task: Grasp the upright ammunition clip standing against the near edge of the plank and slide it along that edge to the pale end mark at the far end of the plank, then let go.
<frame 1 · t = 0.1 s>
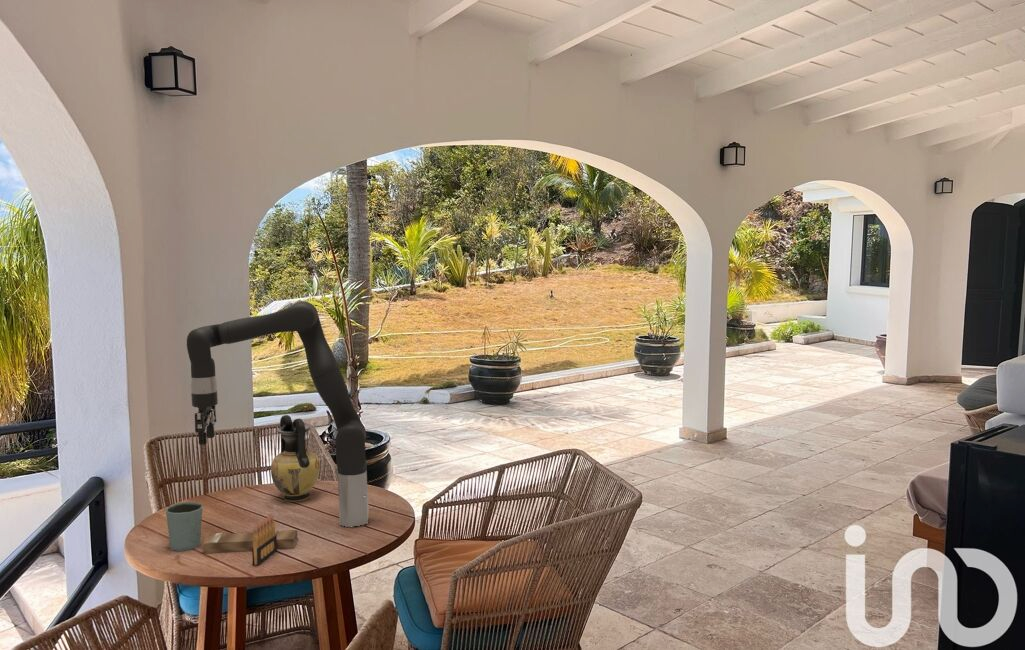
hand: (206, 441, 233), 29 cm above the table, tool pointing down, fingers open, 8 cm apart
amphora: (296, 498, 267), on the table
ammunition clip: (265, 558, 214), on the table
grey-green cup: (186, 546, 224), on the table
plank: (251, 546, 223), on the table
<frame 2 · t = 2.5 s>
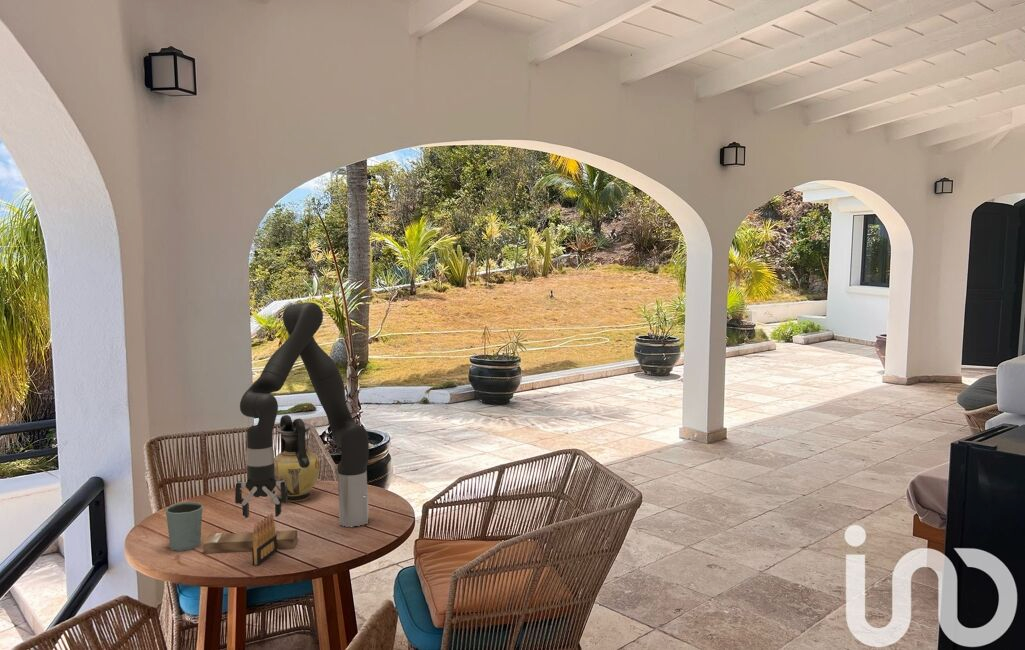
hand: (262, 516, 213), 12 cm above the table, tool pointing down, fingers open, 8 cm apart
nothing on the table moved.
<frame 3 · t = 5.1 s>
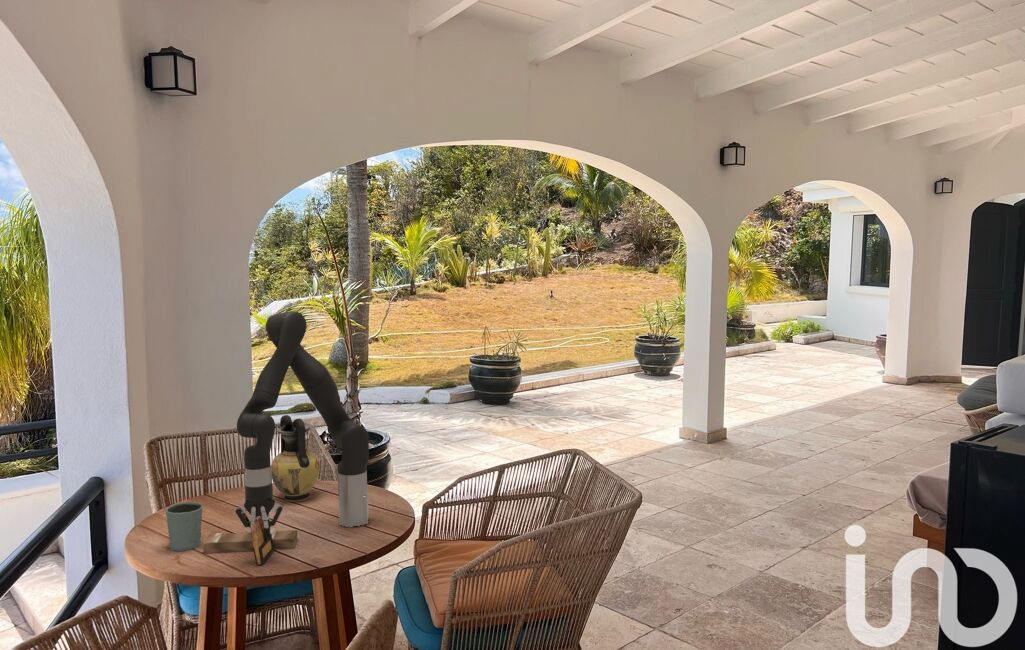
hand: (261, 539, 214), 6 cm above the table, tool pointing down, fingers closed on ammunition clip, 2 cm apart
ammunition clip: (265, 558, 214), on the table, touching gripper
everything else where it was.
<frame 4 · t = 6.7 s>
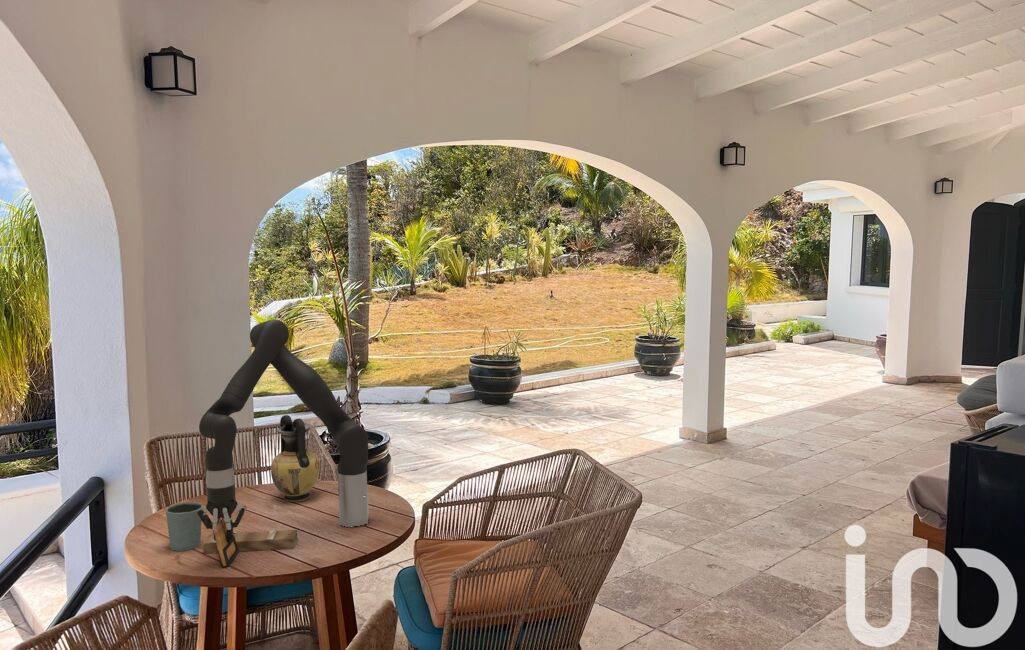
hand: (223, 541, 212), 6 cm above the table, tool pointing down, fingers closed on ammunition clip, 2 cm apart
ammunition clip: (230, 559, 213), on the table, touching gripper
everything else where it was.
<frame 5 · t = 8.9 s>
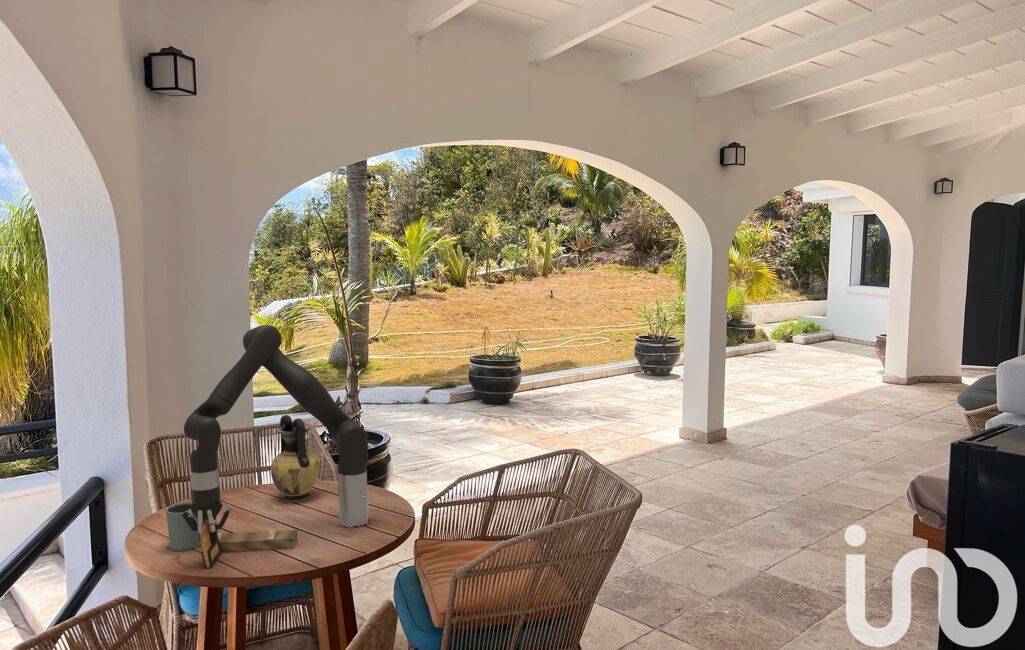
hand: (208, 543, 212), 5 cm above the table, tool pointing down, fingers closed on ammunition clip, 2 cm apart
ammunition clip: (213, 561, 213), on the table, touching gripper
everything else where it was.
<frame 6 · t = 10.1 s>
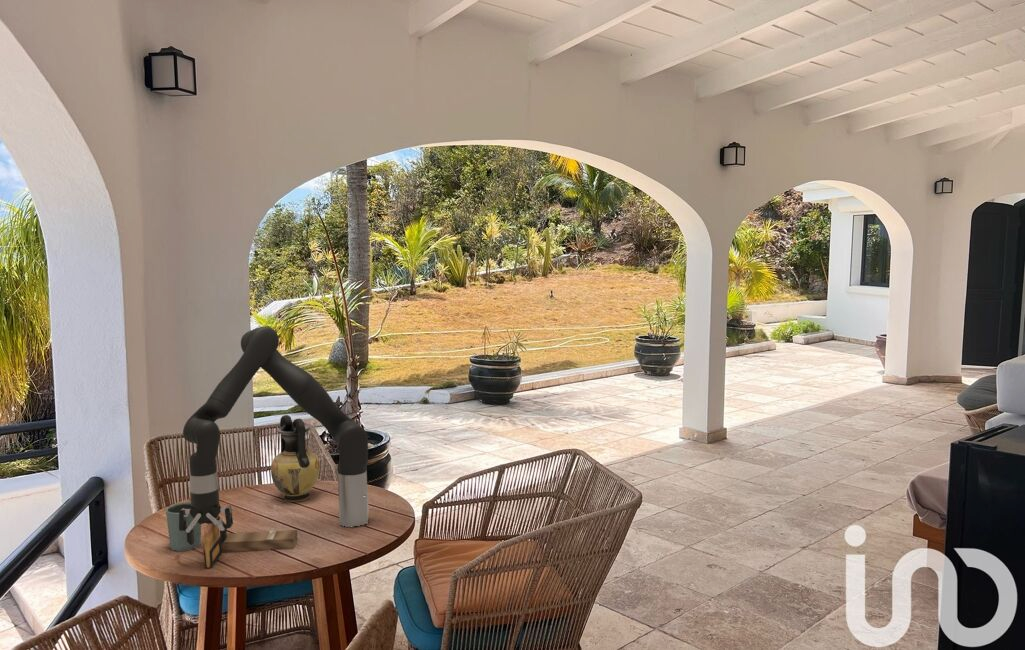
hand: (207, 542, 212), 5 cm above the table, tool pointing down, fingers open, 8 cm apart
ammunition clip: (213, 561, 213), on the table
everything else where it was.
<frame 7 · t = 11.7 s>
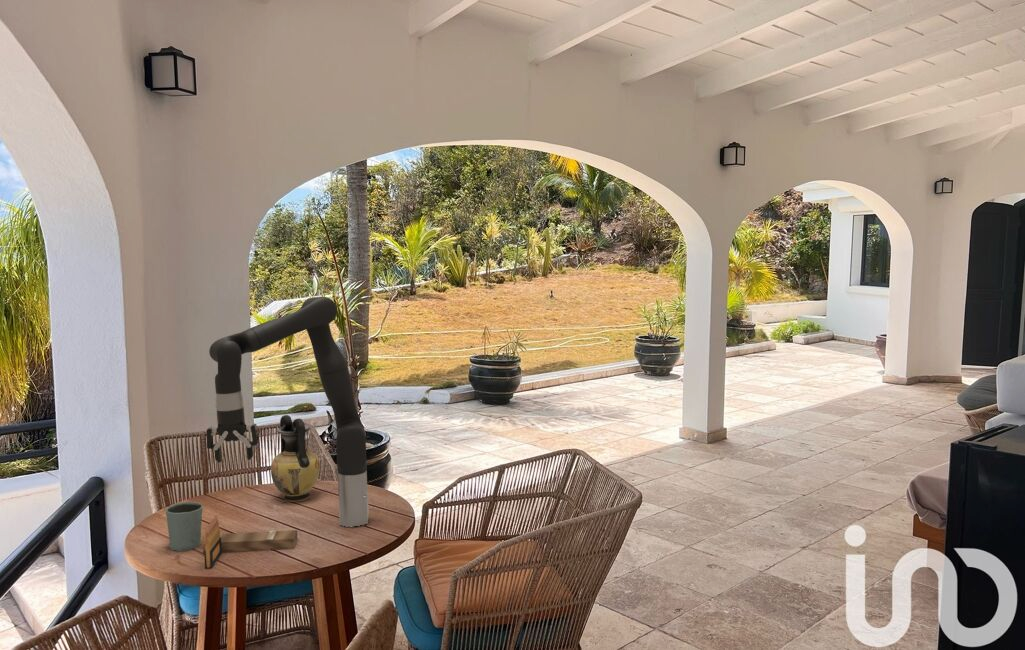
hand: (234, 460, 219), 27 cm above the table, tool pointing down, fingers open, 8 cm apart
nothing on the table moved.
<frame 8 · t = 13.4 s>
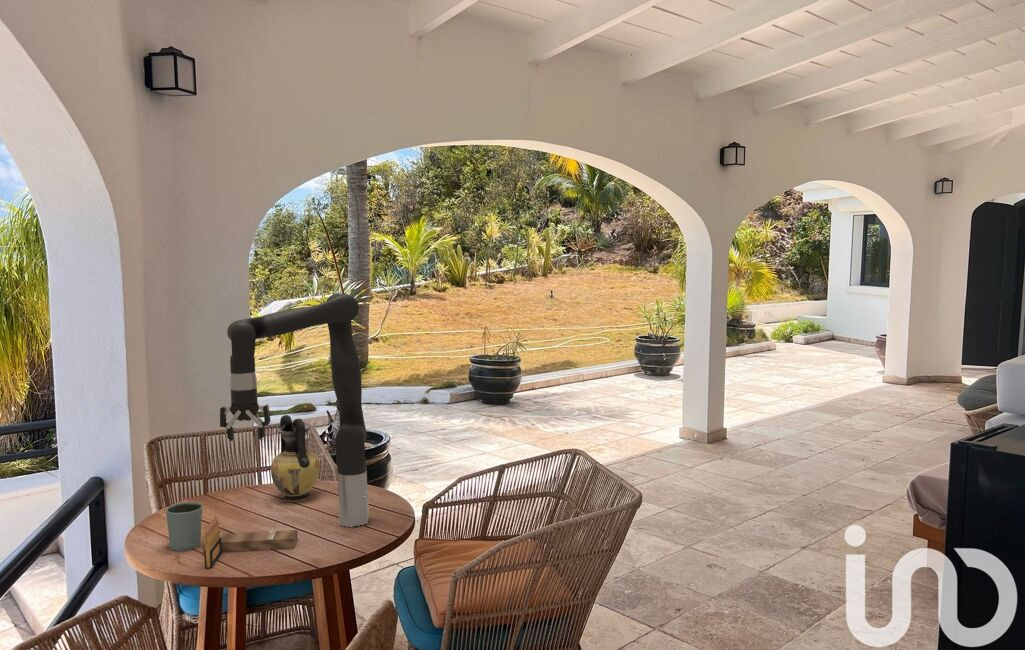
hand: (246, 439, 223), 32 cm above the table, tool pointing down, fingers open, 8 cm apart
nothing on the table moved.
at the end: ammunition clip inside the target area (2.0 cm from its centre), on the table; ammunition clip moved 14.5 cm from its start; the gripper is holding nothing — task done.
